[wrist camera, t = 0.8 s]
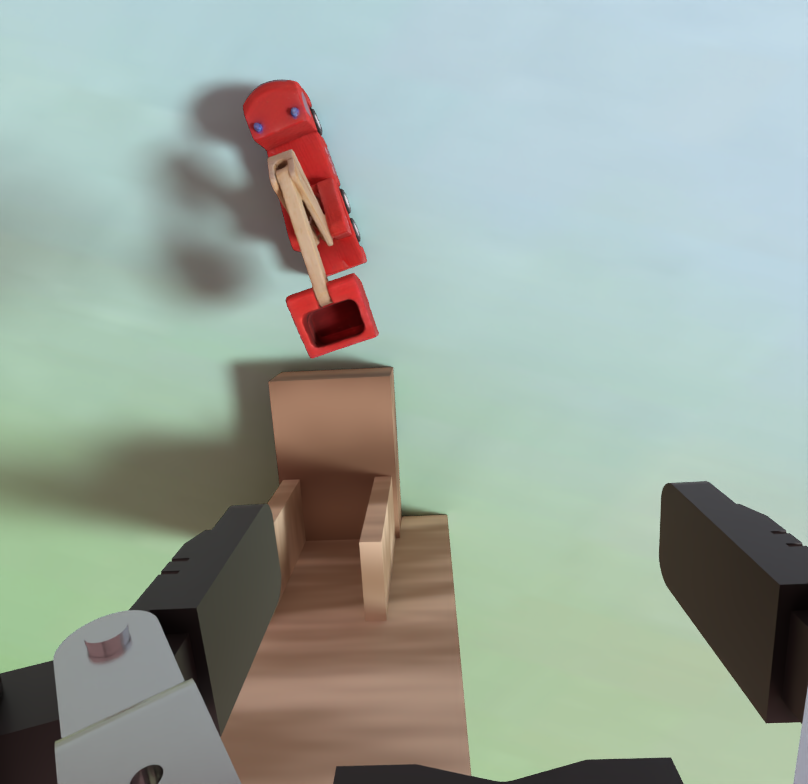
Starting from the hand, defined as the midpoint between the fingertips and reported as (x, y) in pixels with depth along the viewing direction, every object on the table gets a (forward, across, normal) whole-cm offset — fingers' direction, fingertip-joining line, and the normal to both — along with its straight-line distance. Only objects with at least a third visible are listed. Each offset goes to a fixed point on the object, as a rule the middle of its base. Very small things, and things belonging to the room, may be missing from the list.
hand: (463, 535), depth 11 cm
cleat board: (+23, +6, +7) cm, 25 cm away
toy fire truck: (+24, +6, -8) cm, 26 cm away
